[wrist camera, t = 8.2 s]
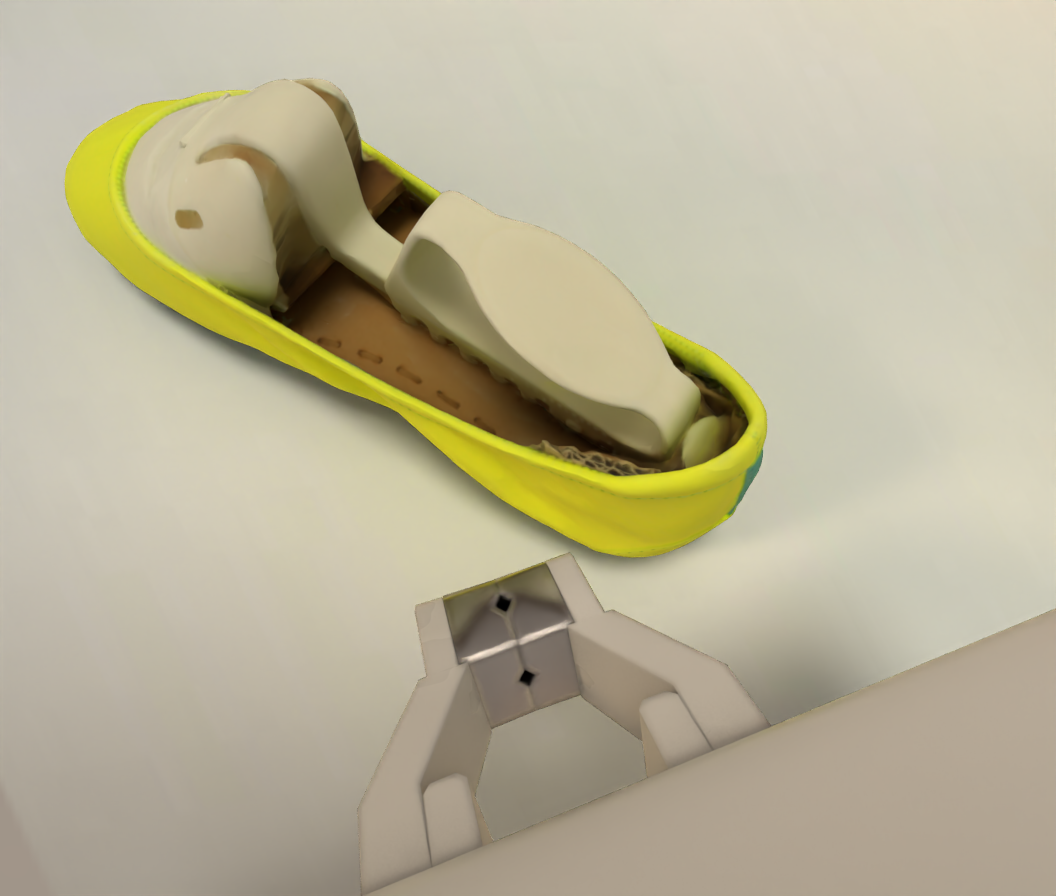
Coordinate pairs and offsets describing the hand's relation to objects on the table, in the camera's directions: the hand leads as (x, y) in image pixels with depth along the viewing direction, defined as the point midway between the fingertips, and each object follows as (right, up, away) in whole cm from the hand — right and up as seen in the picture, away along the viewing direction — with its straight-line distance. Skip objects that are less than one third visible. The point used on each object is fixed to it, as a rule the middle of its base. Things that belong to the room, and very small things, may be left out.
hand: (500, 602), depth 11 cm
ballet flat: (-4, +7, +10) cm, 13 cm away
